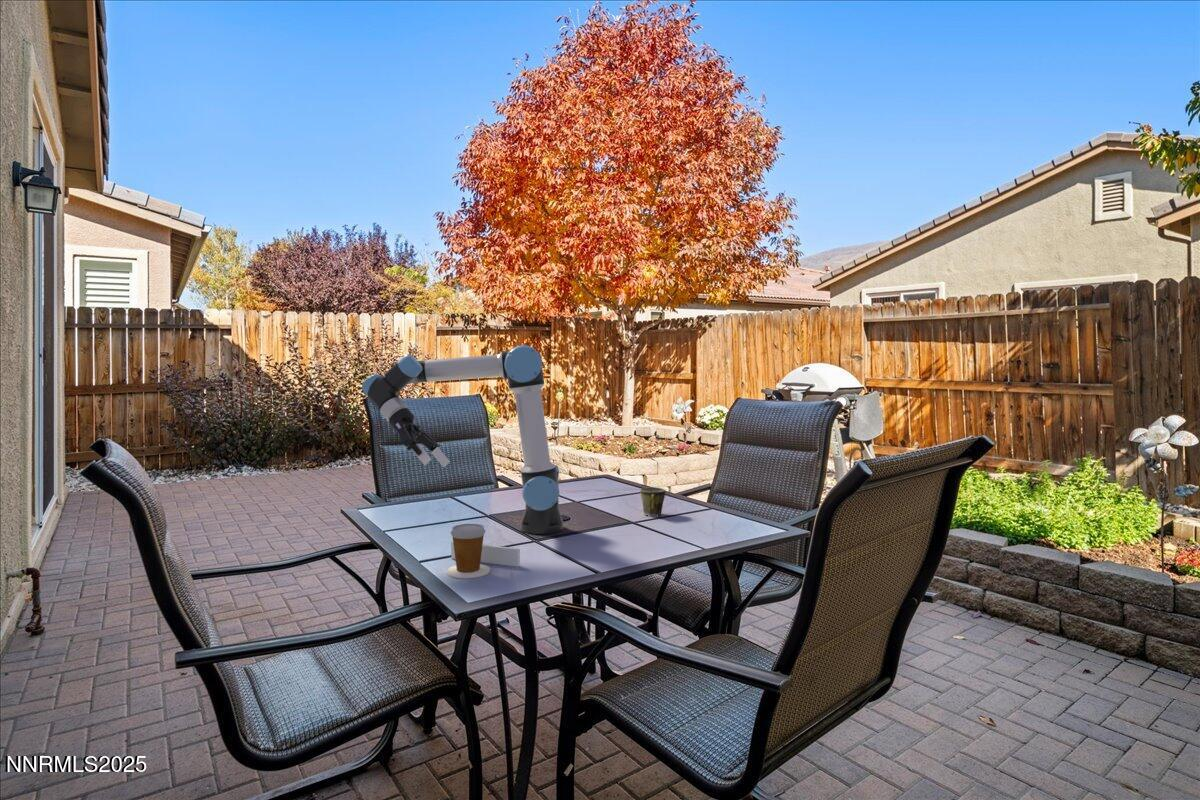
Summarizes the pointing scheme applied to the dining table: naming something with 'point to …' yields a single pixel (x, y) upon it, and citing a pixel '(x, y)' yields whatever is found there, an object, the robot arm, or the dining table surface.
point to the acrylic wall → (497, 555)
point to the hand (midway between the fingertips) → (437, 463)
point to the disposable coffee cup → (468, 546)
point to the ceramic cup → (652, 500)
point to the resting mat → (481, 572)
